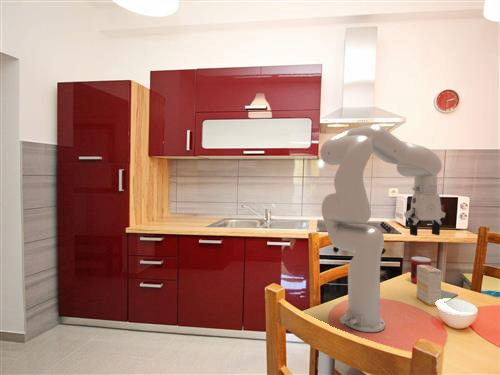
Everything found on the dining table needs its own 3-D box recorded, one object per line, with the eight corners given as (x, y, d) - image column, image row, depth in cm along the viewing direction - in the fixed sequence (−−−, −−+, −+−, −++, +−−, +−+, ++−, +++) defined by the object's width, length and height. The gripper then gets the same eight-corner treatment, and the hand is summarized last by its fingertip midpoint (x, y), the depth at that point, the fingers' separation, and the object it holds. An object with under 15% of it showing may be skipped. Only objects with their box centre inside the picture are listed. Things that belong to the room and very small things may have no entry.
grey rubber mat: (444, 302, 112) (444, 301, 112) (422, 295, 119) (422, 294, 119) (457, 295, 119) (457, 294, 119) (436, 289, 126) (436, 288, 126)
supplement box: (441, 306, 109) (442, 270, 109) (428, 306, 109) (428, 270, 109) (428, 297, 117) (428, 264, 117) (416, 297, 117) (416, 264, 117)
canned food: (434, 284, 133) (435, 259, 132) (422, 286, 130) (422, 261, 129) (419, 279, 140) (419, 255, 139) (407, 281, 137) (407, 257, 137)
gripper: (412, 190, 109) (411, 237, 109) (453, 190, 112) (452, 236, 112) (398, 189, 116) (398, 233, 116) (437, 190, 119) (436, 232, 119)
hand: (424, 234), depth 114 cm, fingers open, 9 cm apart
